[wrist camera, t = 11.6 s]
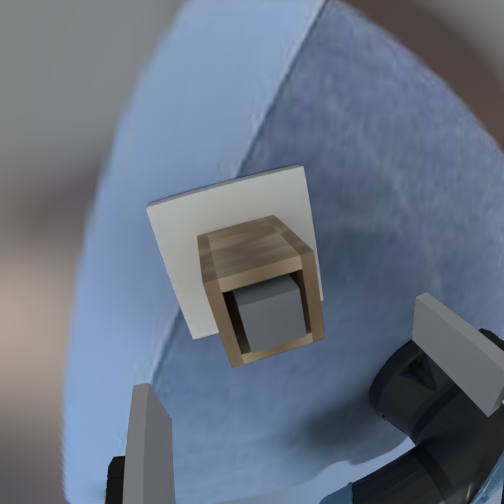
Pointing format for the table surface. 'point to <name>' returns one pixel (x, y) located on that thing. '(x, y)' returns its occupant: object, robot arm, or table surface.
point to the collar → (257, 279)
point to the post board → (225, 215)
